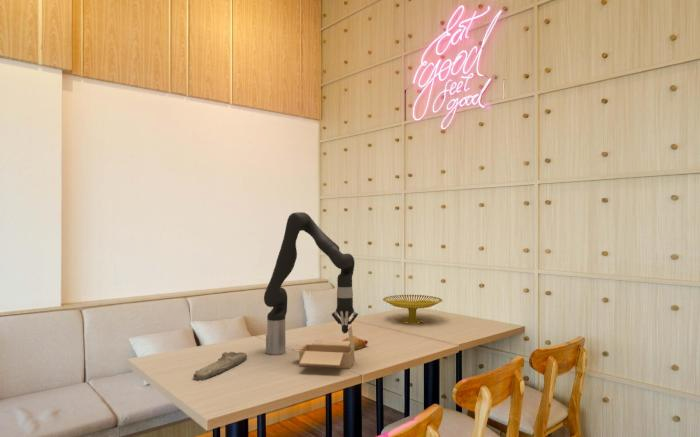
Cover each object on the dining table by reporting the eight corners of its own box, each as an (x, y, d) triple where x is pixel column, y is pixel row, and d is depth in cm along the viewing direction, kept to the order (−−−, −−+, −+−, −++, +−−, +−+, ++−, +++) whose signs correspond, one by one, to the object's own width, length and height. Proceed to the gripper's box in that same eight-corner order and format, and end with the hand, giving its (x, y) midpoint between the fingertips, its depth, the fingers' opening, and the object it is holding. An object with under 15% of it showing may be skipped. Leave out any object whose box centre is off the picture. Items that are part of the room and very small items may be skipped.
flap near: (305, 350, 210) (299, 362, 200) (343, 352, 207) (339, 364, 197) (305, 351, 210) (299, 363, 200) (343, 353, 207) (339, 365, 197)
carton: (290, 365, 211) (290, 350, 212) (302, 353, 231) (302, 339, 231) (350, 368, 207) (350, 352, 207) (356, 355, 227) (356, 341, 227)
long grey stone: (187, 382, 194) (206, 386, 191) (187, 370, 194) (206, 374, 190) (235, 355, 227) (252, 358, 223) (235, 345, 227) (252, 348, 223)
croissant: (334, 359, 233) (337, 347, 229) (327, 346, 240) (329, 334, 237) (369, 352, 243) (373, 341, 240) (361, 340, 251) (364, 329, 248)
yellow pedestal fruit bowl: (371, 323, 302) (371, 300, 302) (400, 313, 334) (400, 292, 334) (426, 331, 278) (426, 306, 278) (452, 319, 311) (452, 297, 311)
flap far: (351, 351, 209) (348, 329, 210) (353, 346, 216) (350, 326, 217) (352, 350, 209) (349, 329, 210) (354, 346, 216) (351, 326, 217)
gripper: (329, 297, 211) (329, 334, 211) (357, 297, 209) (357, 335, 209) (332, 294, 218) (332, 330, 218) (359, 295, 216) (360, 331, 216)
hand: (345, 332), depth 213 cm, fingers closed
